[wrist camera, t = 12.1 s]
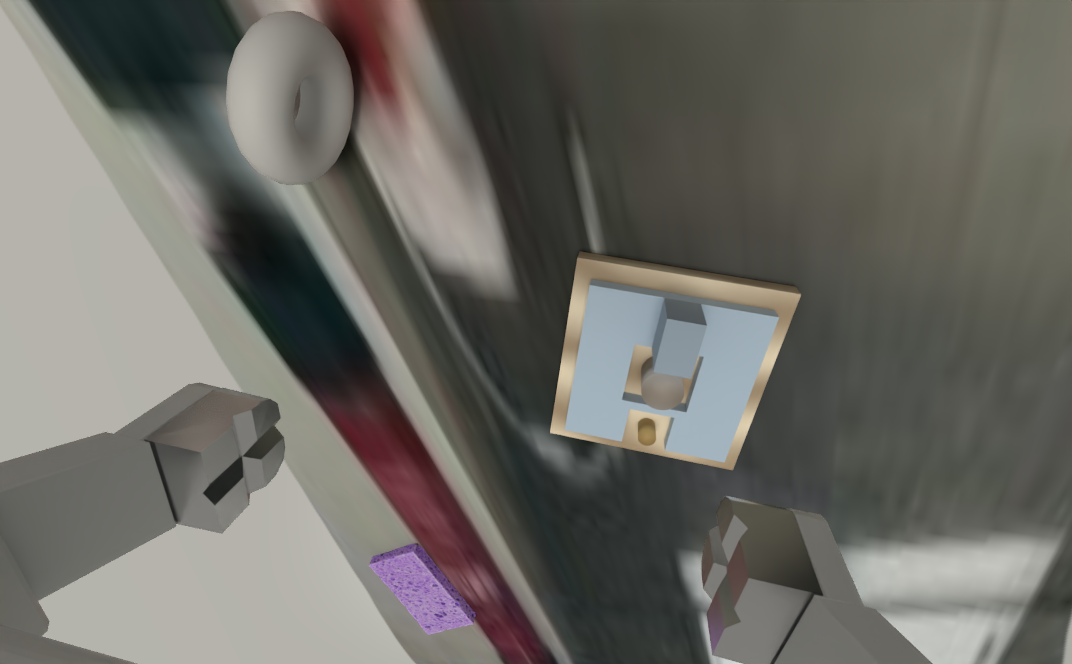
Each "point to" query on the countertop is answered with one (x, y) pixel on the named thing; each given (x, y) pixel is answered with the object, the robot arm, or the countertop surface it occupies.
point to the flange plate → (709, 379)
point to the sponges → (422, 589)
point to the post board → (654, 387)
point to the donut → (290, 97)
